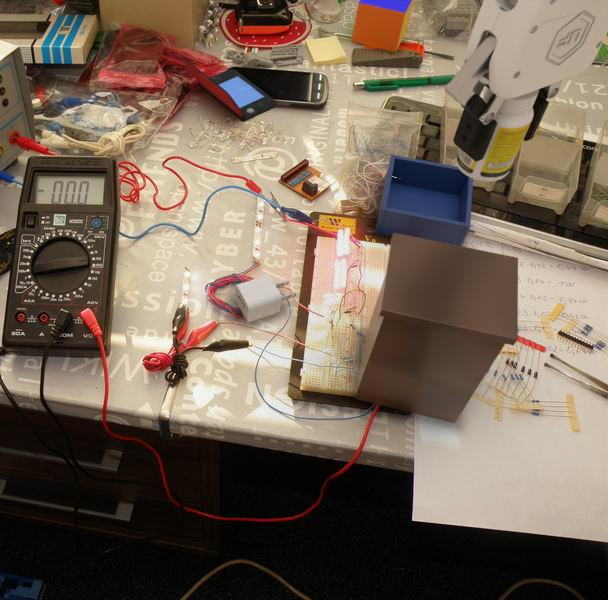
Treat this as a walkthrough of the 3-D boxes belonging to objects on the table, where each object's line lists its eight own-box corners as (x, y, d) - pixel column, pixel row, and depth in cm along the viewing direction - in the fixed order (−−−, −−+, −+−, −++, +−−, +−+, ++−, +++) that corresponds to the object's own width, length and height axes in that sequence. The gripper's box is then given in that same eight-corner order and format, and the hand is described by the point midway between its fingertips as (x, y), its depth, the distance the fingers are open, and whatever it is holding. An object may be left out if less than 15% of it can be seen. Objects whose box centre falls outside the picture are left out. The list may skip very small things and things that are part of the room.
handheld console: (279, 109, 108) (283, 68, 102) (226, 134, 104) (227, 94, 98) (232, 72, 114) (233, 32, 108) (180, 95, 110) (178, 54, 104)
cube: (405, 33, 121) (416, -10, 115) (394, 56, 117) (405, 12, 110) (363, 23, 123) (371, -20, 117) (350, 45, 119) (358, 2, 112)
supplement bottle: (516, 160, 61) (552, 80, 54) (498, 190, 58) (535, 110, 52) (465, 142, 63) (494, 62, 56) (446, 170, 60) (475, 90, 54)
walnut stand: (462, 357, 79) (518, 257, 65) (457, 431, 73) (517, 339, 59) (360, 334, 81) (393, 232, 67) (348, 404, 75) (381, 309, 61)
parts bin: (462, 197, 95) (474, 169, 91) (457, 254, 89) (470, 226, 84) (383, 182, 97) (391, 154, 93) (373, 237, 91) (381, 209, 86)
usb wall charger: (234, 302, 84) (235, 282, 81) (283, 286, 85) (286, 266, 82) (247, 326, 82) (248, 307, 78) (298, 309, 83) (301, 289, 80)
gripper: (527, -25, 39) (444, 200, 54) (718, -86, 44) (595, 135, 59) (443, -75, 44) (386, 147, 58) (626, -126, 48) (532, 91, 63)
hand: (492, 139), depth 58 cm, fingers closed on supplement bottle, 4 cm apart
